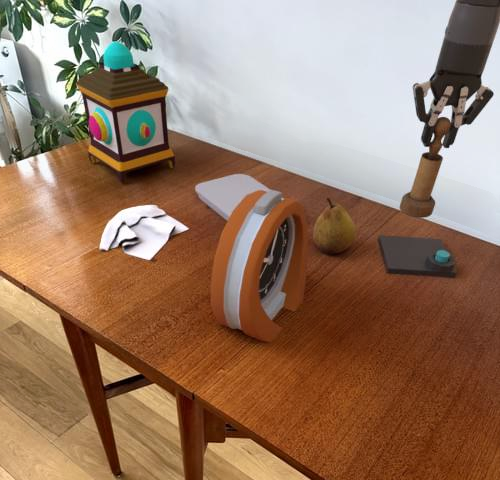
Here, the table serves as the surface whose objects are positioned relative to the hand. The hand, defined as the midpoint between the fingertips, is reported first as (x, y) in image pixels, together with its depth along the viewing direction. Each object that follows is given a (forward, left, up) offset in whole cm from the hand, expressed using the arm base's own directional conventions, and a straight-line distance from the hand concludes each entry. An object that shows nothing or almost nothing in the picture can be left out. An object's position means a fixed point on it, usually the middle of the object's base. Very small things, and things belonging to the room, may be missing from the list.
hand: (435, 145), depth 86 cm
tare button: (-6, +5, -21) cm, 23 cm away
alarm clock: (+30, +22, -24) cm, 44 cm away
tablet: (+36, -17, -24) cm, 46 cm away
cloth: (+59, -2, -24) cm, 63 cm away
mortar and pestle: (0, 0, -13) cm, 13 cm away
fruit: (+16, -1, -24) cm, 29 cm away
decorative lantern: (+69, -37, -24) cm, 81 cm away
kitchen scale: (-2, +1, -24) cm, 24 cm away
